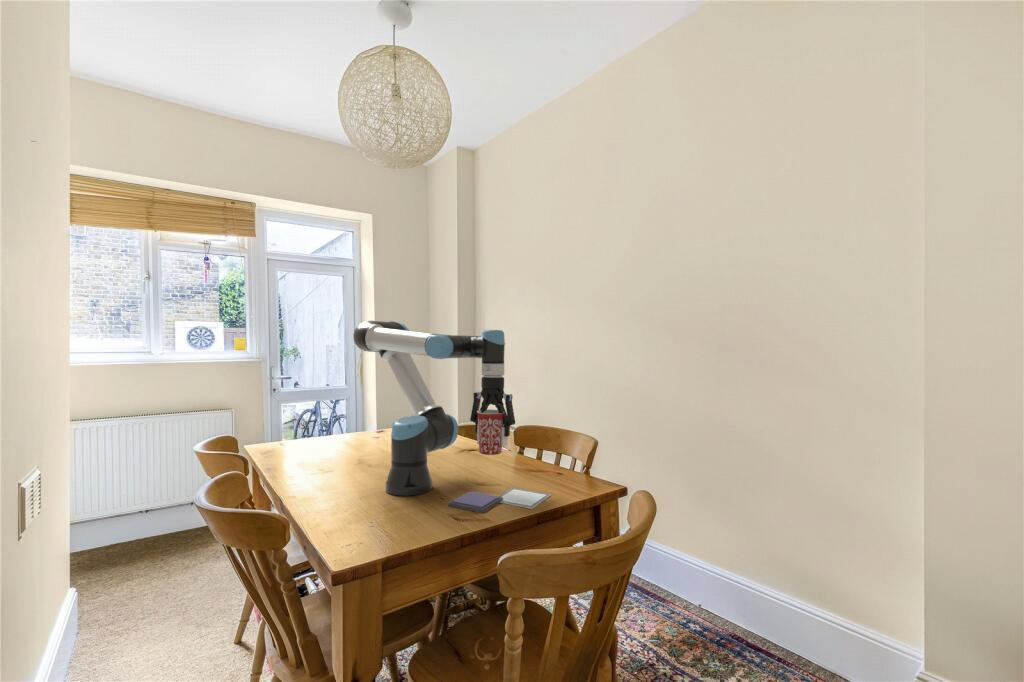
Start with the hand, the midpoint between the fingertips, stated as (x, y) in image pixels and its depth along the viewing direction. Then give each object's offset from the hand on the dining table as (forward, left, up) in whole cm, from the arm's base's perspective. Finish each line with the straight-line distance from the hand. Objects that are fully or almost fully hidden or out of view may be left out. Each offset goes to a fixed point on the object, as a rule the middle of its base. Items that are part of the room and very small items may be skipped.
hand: (492, 444), depth 153 cm
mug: (-1, 0, -2) cm, 3 cm away
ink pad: (+2, -13, -15) cm, 20 cm away
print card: (+12, -2, -15) cm, 19 cm away
